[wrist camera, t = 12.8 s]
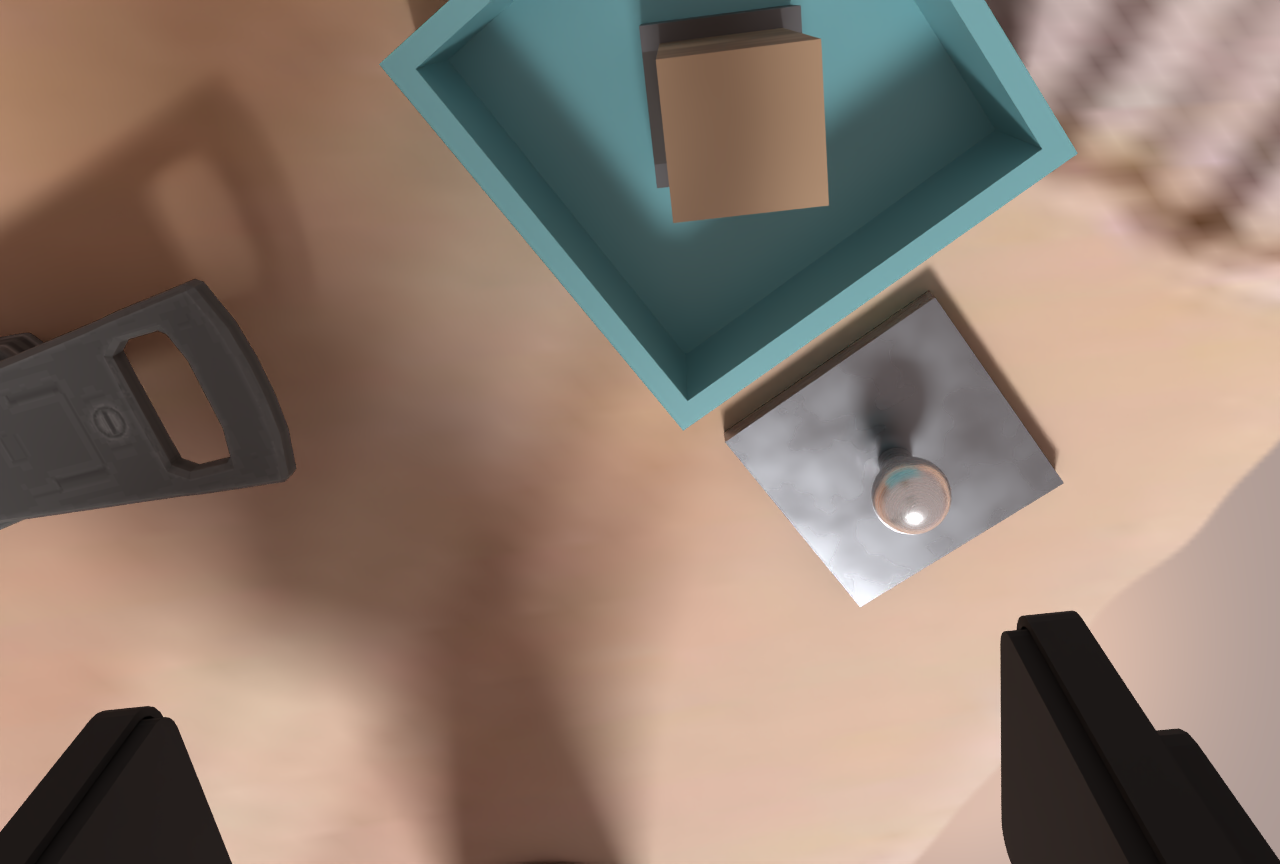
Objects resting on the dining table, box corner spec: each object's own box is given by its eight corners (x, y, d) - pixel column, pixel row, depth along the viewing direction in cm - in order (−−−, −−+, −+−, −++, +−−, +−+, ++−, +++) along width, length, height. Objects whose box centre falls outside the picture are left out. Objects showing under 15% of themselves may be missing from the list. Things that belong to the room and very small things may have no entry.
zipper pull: (312, 492, 37) (-254, 655, 41) (362, 422, 43) (-134, 569, 47) (198, 261, 34) (-408, 461, 37) (270, 220, 40) (-256, 396, 43)
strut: (790, 4, 35) (845, 8, 24) (799, 157, 37) (853, 226, 26) (641, 23, 36) (628, 36, 24) (658, 174, 38) (652, 248, 27)
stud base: (1055, 472, 43) (1106, 536, 38) (856, 594, 46) (879, 669, 41) (928, 290, 40) (966, 333, 35) (724, 432, 43) (731, 491, 38)
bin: (1017, 130, 38) (1077, 153, 32) (681, 372, 42) (683, 430, 36) (773, -263, 33) (793, -315, 27) (422, 54, 37) (379, 64, 32)
